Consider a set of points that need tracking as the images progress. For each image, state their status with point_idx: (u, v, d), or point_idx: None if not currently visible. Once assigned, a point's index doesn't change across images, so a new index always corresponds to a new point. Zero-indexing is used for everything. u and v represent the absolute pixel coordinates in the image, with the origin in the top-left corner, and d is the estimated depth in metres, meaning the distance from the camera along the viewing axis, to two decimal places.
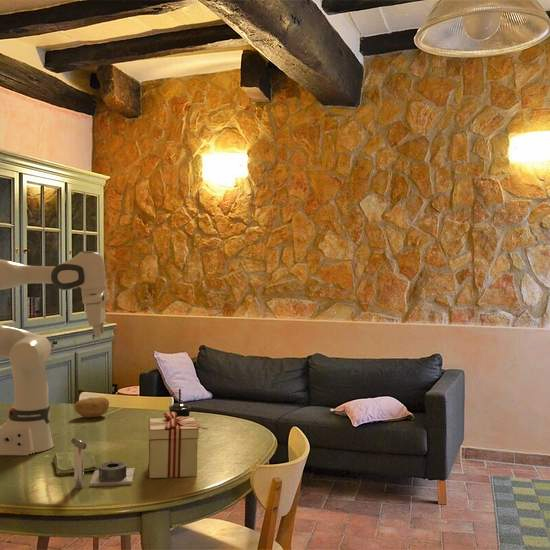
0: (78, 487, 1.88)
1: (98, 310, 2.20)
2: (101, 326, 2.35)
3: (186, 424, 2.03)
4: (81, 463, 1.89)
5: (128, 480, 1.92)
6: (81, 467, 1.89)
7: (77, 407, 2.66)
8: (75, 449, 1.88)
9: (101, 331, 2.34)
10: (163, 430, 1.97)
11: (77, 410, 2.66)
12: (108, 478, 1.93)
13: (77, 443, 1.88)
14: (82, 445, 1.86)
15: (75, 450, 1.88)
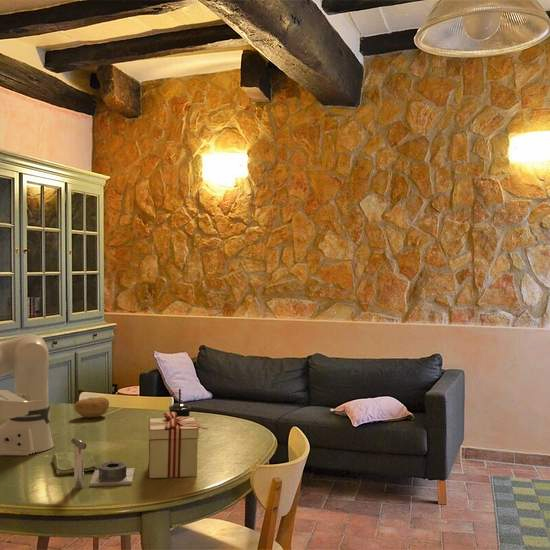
0: (78, 487, 1.88)
1: (10, 402, 1.68)
2: (19, 396, 1.84)
3: (186, 424, 2.03)
4: (81, 463, 1.89)
5: (128, 480, 1.92)
6: (81, 467, 1.89)
7: (77, 407, 2.66)
8: (75, 449, 1.88)
9: (26, 396, 1.84)
10: (163, 430, 1.97)
11: (77, 410, 2.66)
12: (108, 478, 1.93)
13: (77, 443, 1.88)
14: (82, 445, 1.86)
15: (75, 450, 1.88)
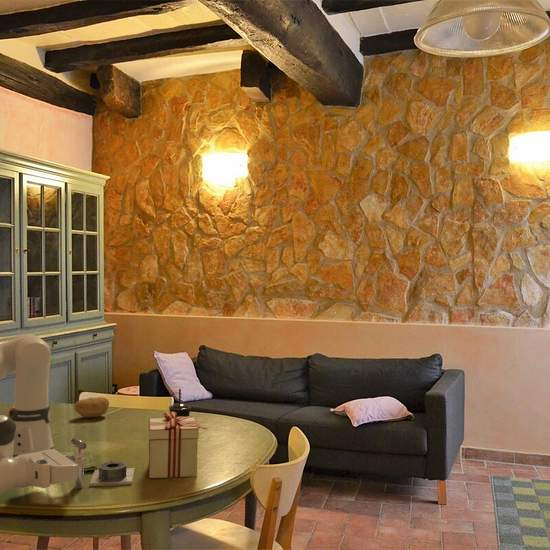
0: (78, 487, 1.88)
1: (61, 468, 1.76)
2: (69, 457, 1.90)
3: (186, 424, 2.03)
4: None
5: (128, 480, 1.92)
6: (81, 467, 1.89)
7: (77, 407, 2.66)
8: (75, 449, 1.88)
9: None
10: (163, 430, 1.97)
11: (77, 410, 2.66)
12: (108, 478, 1.93)
13: (77, 443, 1.88)
14: (82, 445, 1.86)
15: (75, 450, 1.88)
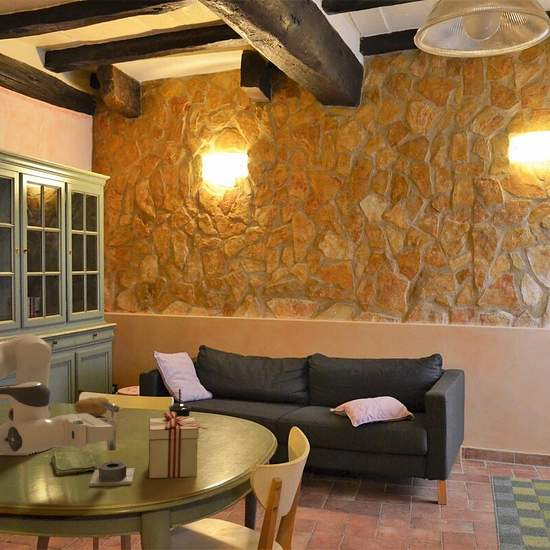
0: (111, 449, 1.95)
1: (96, 428, 1.83)
2: (102, 420, 1.97)
3: (186, 424, 2.03)
4: None
5: (128, 480, 1.92)
6: (114, 430, 1.95)
7: (77, 407, 2.66)
8: (108, 412, 1.95)
9: None
10: (163, 430, 1.97)
11: (77, 410, 2.66)
12: (108, 478, 1.93)
13: (110, 406, 1.95)
14: (115, 408, 1.93)
15: (108, 414, 1.95)
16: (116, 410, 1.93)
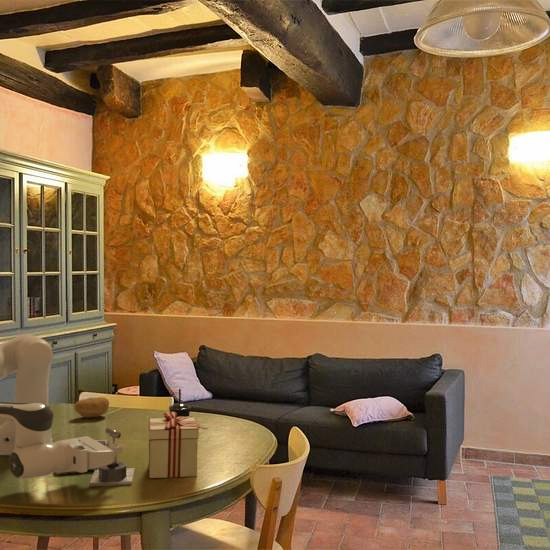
0: None
1: (98, 453, 1.84)
2: (100, 442, 1.99)
3: (186, 424, 2.03)
4: None
5: (128, 480, 1.92)
6: (115, 456, 1.96)
7: (77, 407, 2.66)
8: (109, 438, 1.95)
9: (107, 442, 1.99)
10: (163, 430, 1.97)
11: (77, 410, 2.66)
12: (108, 478, 1.93)
13: (111, 432, 1.95)
14: (117, 434, 1.94)
15: (110, 440, 1.95)
16: (117, 436, 1.94)
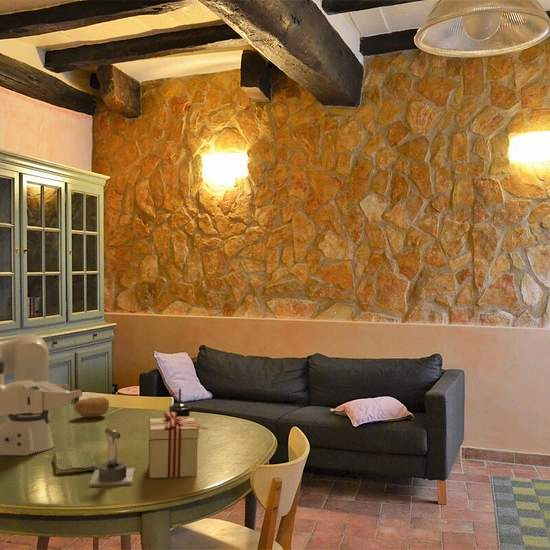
0: None
1: (53, 394, 1.75)
2: (59, 387, 1.91)
3: (186, 424, 2.03)
4: (115, 452, 1.96)
5: (128, 480, 1.92)
6: (115, 456, 1.96)
7: (77, 407, 2.66)
8: (109, 439, 1.95)
9: (65, 386, 1.91)
10: (163, 430, 1.97)
11: (77, 410, 2.66)
12: (108, 478, 1.93)
13: (111, 433, 1.95)
14: (116, 434, 1.94)
15: (109, 440, 1.95)
16: (117, 436, 1.94)
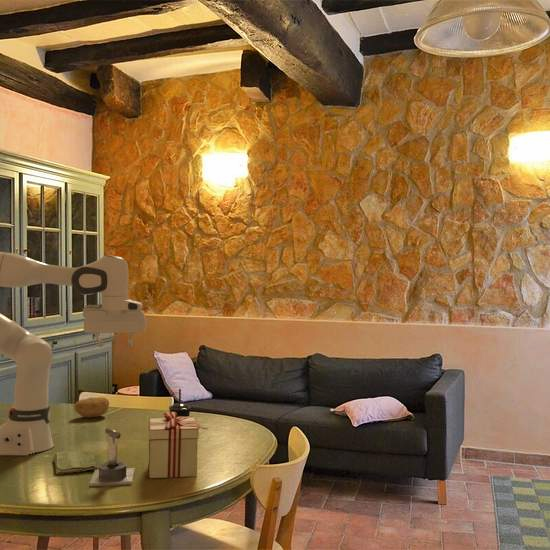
0: None
1: None
2: (99, 338, 2.16)
3: (186, 424, 2.03)
4: (115, 452, 1.96)
5: (128, 480, 1.92)
6: (115, 456, 1.96)
7: (77, 407, 2.66)
8: (109, 439, 1.95)
9: None
10: (163, 430, 1.97)
11: (77, 410, 2.66)
12: (108, 478, 1.93)
13: (111, 433, 1.95)
14: (116, 435, 1.93)
15: (110, 440, 1.95)
16: (117, 436, 1.94)
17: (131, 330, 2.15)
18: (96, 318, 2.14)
